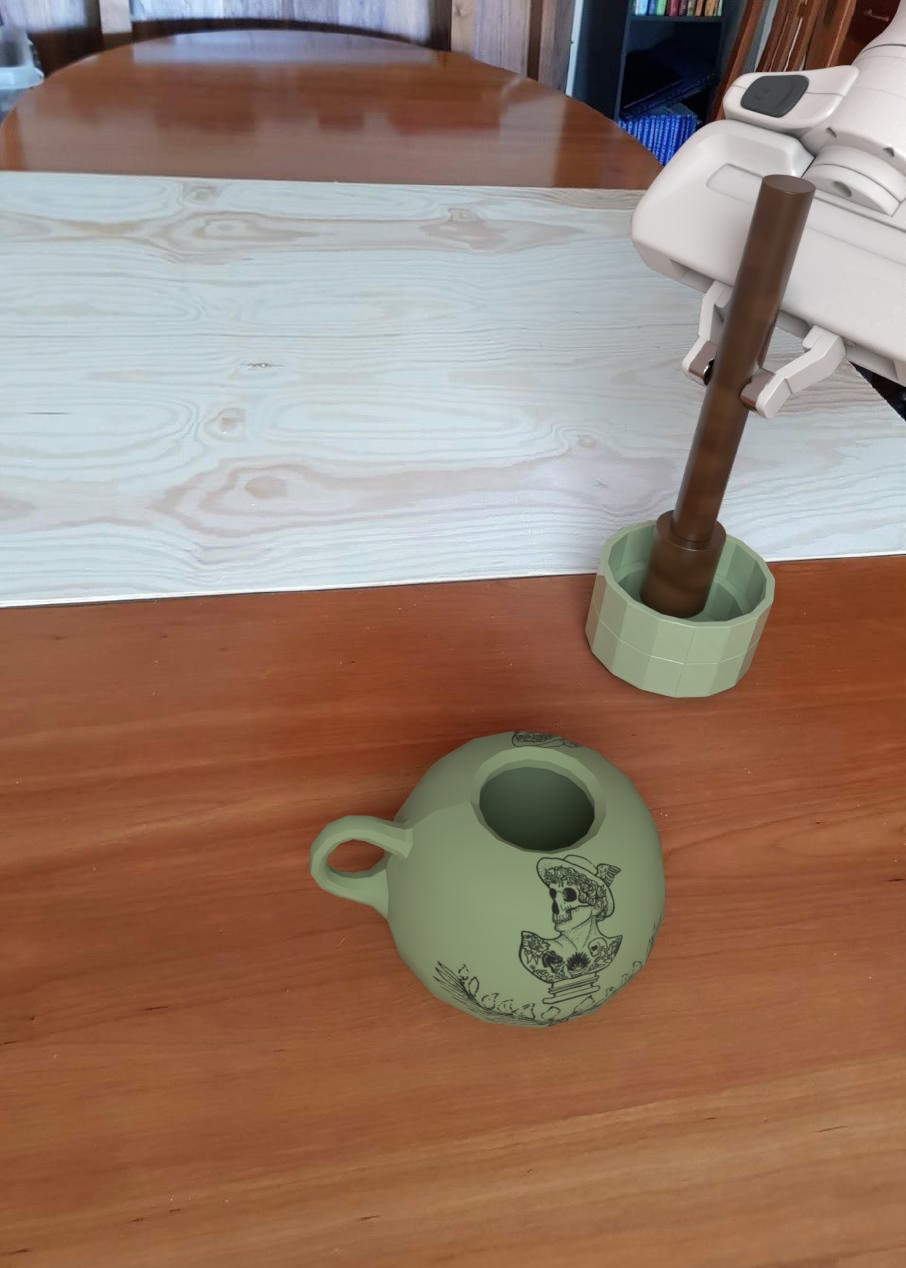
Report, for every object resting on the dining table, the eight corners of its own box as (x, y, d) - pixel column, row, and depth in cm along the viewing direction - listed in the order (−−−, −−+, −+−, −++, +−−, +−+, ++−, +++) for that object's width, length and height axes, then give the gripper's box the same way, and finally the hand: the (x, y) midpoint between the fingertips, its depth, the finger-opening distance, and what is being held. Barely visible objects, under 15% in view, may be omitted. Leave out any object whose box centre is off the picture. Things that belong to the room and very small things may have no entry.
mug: (614, 803, 55) (647, 684, 50) (686, 1036, 46) (736, 921, 40) (306, 819, 53) (303, 696, 47) (313, 1067, 44) (310, 951, 38)
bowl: (718, 594, 70) (742, 519, 66) (770, 702, 62) (800, 625, 58) (570, 596, 68) (585, 520, 64) (604, 707, 61) (623, 628, 57)
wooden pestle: (695, 575, 65) (815, 169, 49) (714, 618, 62) (848, 201, 46) (631, 576, 64) (732, 165, 48) (647, 619, 61) (760, 197, 46)
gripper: (1093, 270, 50) (912, 511, 51) (741, 143, 60) (598, 345, 62) (1100, 190, 44) (898, 462, 46) (712, 66, 55) (556, 289, 56)
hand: (723, 393), depth 54 cm, fingers closed on wooden pestle, 2 cm apart
